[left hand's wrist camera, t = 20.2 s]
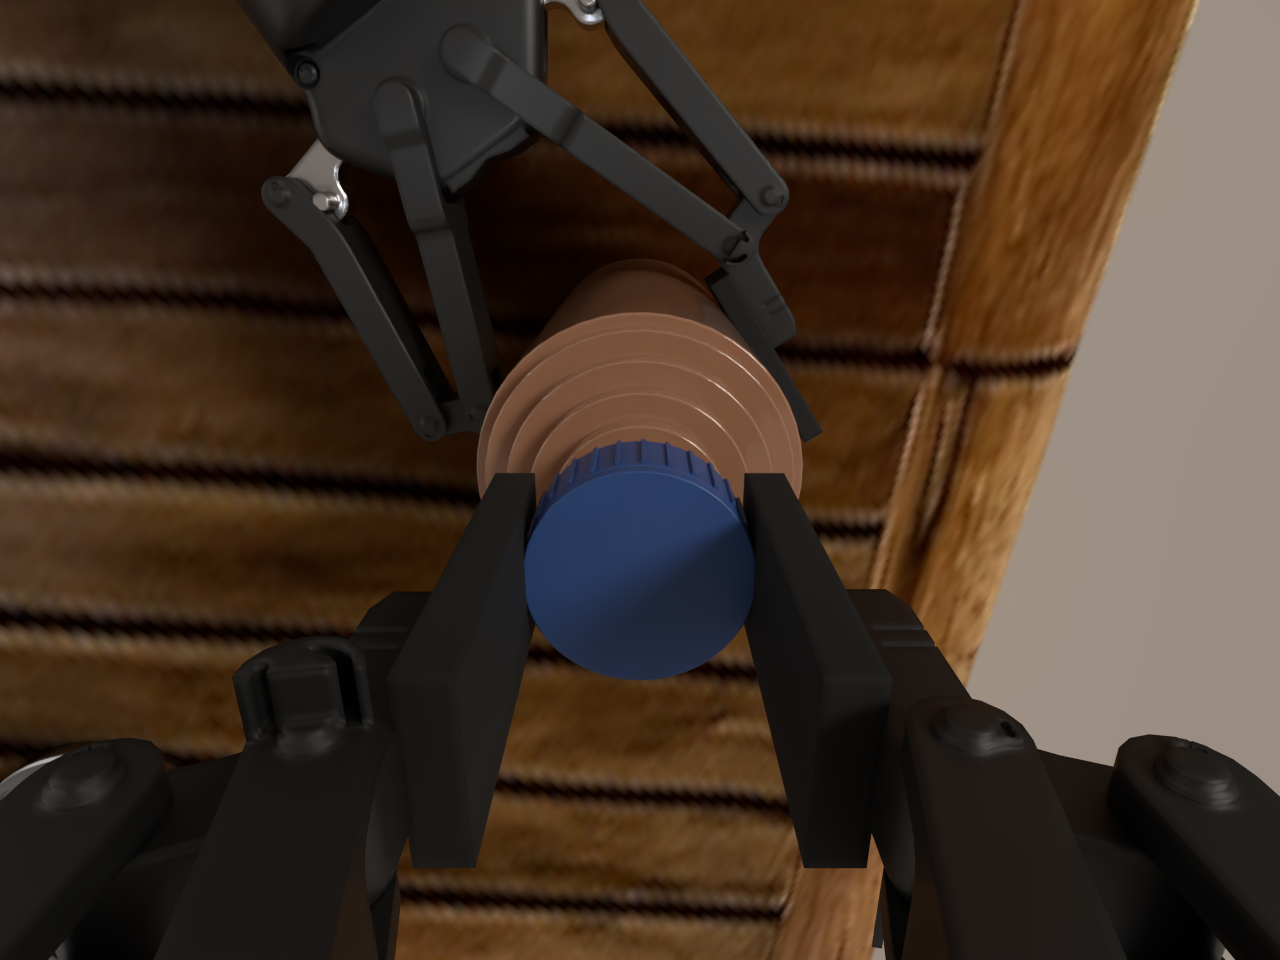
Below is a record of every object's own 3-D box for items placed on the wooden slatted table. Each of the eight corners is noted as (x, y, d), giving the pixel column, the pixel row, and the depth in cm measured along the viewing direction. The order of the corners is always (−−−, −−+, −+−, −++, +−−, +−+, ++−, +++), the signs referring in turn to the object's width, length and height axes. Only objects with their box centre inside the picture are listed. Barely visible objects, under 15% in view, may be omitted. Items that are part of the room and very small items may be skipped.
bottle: (564, 439, 35) (464, 754, 15) (541, 267, 32) (382, 373, 12) (731, 424, 35) (854, 724, 15) (722, 249, 32) (858, 330, 12)
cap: (508, 458, 14) (491, 491, 12) (731, 418, 14) (743, 447, 12) (558, 647, 15) (548, 698, 14) (760, 615, 15) (774, 664, 14)
